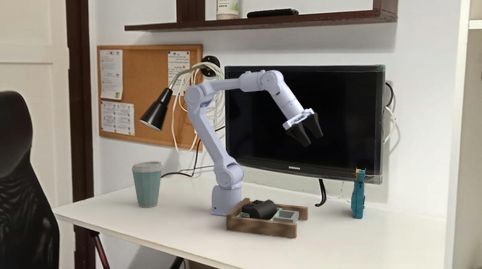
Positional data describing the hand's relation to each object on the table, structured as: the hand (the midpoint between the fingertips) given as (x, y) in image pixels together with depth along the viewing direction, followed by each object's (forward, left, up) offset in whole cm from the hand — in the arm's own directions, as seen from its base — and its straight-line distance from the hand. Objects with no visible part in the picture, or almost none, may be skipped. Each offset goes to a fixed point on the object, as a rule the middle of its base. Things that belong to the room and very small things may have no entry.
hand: (314, 141), depth 153 cm
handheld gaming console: (+12, +14, -26) cm, 32 cm away
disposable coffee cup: (-58, +1, -26) cm, 63 cm away
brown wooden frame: (-14, -5, -26) cm, 30 cm away
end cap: (-16, -5, -26) cm, 31 cm away
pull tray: (-13, -5, -26) cm, 29 cm away
